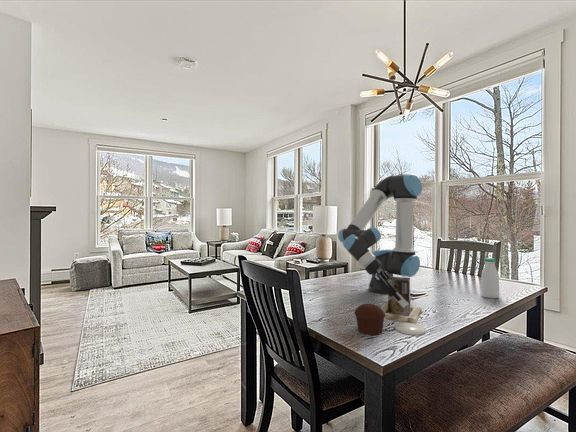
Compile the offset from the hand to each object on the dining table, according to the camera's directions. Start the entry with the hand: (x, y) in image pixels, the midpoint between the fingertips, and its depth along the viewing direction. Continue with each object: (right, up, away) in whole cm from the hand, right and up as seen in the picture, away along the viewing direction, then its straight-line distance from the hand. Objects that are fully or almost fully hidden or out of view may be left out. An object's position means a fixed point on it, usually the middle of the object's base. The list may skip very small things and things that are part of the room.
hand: (407, 303), depth 135 cm
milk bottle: (+53, -4, +27) cm, 60 cm away
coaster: (-5, -6, -15) cm, 16 cm away
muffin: (-21, -6, -15) cm, 27 cm away
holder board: (-3, -5, +2) cm, 7 cm away
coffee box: (-3, -6, +2) cm, 7 cm away
